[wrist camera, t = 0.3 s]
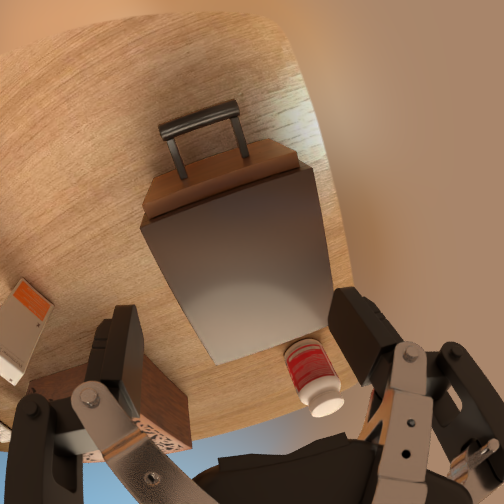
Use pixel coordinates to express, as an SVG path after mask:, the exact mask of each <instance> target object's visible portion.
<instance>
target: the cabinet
mask: <svg viewBox="0 0 504 504" xmlns="http://www.w3.org/2000/svg"><path fill="white" fill-rule="evenodd" d="M299 165H300V167H298V168H294V169H291V170H288V171H284V172H281V173H279V174H278V175H275V176H272V177H269V178H265V179H262V180H259V181H256V182H253V183H250V184H247V185H244V186H241V187H238V188H235V189H232V190H230V191H227V192H224V193H221V194H218V195H215V196H212V197H210V198H207V199H204V200H201V201H199V202H196V203H193V204H190V205H188V206H185V207H182V208H180V209H177V210H175V211H172V212H169V213H168V212H167V213H164V214H162V215H159V216H157V217H154V218H151V219H148V217H147V215H146V213H145V214H144V217H143V220H142V223H141V226H140V230H141V232H142V234H143V236H144V238H145V240H146V242H147V244H148V246H149V248H150V250H151V252H152V254H153V256H154V258H155V260H156V262H157V264H158V266H159V268H160V270H161V272H162V273H163V275H164V277H165V279H166V281H167V283H168V285H169V287H170V288H171V290H172V292H173V294H174V296H175V297H176V299H177V301H178V303H179V305H180V306H181V308H182V310H183V312H184V313H185V315H186V317H187V319H188V320H189V322H190V324H191V325H192V327H193V329H194V330H195V332H196V334H197V335H198V337H199V339H200V340H201V342H202V344H203V345H204V347H205V349H206V350H207V352H208V353H209V355H210V357H211V358H212V360H213V361H214V363H215V365H216V366H217V365H220V364H223V363H227V362H230V361H233V360H236V359H239V358H242V357H245V356H248V355H251V354H254V353H257V352H260V351H263V350H266V349H269V348H272V347H274V346H277V345H280V344H283V343H286V342H288V341H291V340H294V339H296V338H299V337H301V336H304V335H307V334H309V333H312V332H314V331H317V330H319V329H322V328H324V327H327V326H328V314H329V310H330V306H331V302H332V298H333V294H334V290H333V283H332V276H331V269H330V262H329V255H328V249H327V243H326V237H325V231H324V225H323V219H322V214H321V208H320V203H319V198H318V193H317V188H316V183H315V178H314V173H313V168H312V167H310V166H309V165H307V164H305V163H303V162H301V161H300V160H299Z"/></svg>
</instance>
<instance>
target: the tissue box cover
mask: <svg viewBox="0 0 504 504" xmlns="http://www.w3.org/2000/svg"><path fill="white" fill-rule="evenodd" d="M87 365H88V363H86V364H83V365H80V366H77V367H74V368H71V369H68V370H64V371H61V372H58V373H55V374H52V375H49V376H45V377H42V378H39V379H35V380H32V381H30V383H29V386H28V389H27V392H26V395H28V394H31V393H38V394H41V395H43V396H44V397H45V398H46V399H47V400H48V402H49V401H54V400H58V399H63V398H67V397H69V396H71V395H72V392H73V391H74V389H75V388H76V387H77V386H78V385H80V384H81V383H84V379H85V374H86V370H87ZM132 420H133V422H134V423H135V424H136V425H137V426H138V428H139V429H140V430H141V431H144V432H145V433H146V434H147V435H148V436H149V437H150V438H151V439H152V440H153V442H154V443H155V444H156V445H157V446H158V447H159V448H160V449H161V450H162V451H163V452H164V453H165V454H169V453H174V452H179V451H184V450H188V449H192V440H191V431H190V421H189V410H188V398H187V396H186V395H185V394H184V393H182V392H181V391H180V390H179V389H178V388H177V387H176V386H175V385H174V384H173V383H172V382H171V381H170V380H169V379H168V378H167V377H166V376H165V375H164V374H163V373H162V372H161V371H160V370H159V369H158V368H157V367H156V366H155V365H154V364H153V363H152V362H151V361H150V359H149V358H148V357H147V356H146V355H145V354H144V355H143V368H142V385H141V408H140V418H132ZM102 456H103V455H102V453H101V452H100V450H96V451H92V452H88V453H83V463H91V462H105V460H104V459H103V457H102Z"/></svg>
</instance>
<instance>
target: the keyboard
mask: <svg viewBox="0 0 504 504" xmlns="http://www.w3.org/2000/svg"><path fill="white" fill-rule="evenodd" d="M11 432H12V430H10V429H9V428H7V427H6V426H5V425H3V424H2V423H1V422H0V442H2V443H4V442H8V441H10V438H11Z"/></svg>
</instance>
